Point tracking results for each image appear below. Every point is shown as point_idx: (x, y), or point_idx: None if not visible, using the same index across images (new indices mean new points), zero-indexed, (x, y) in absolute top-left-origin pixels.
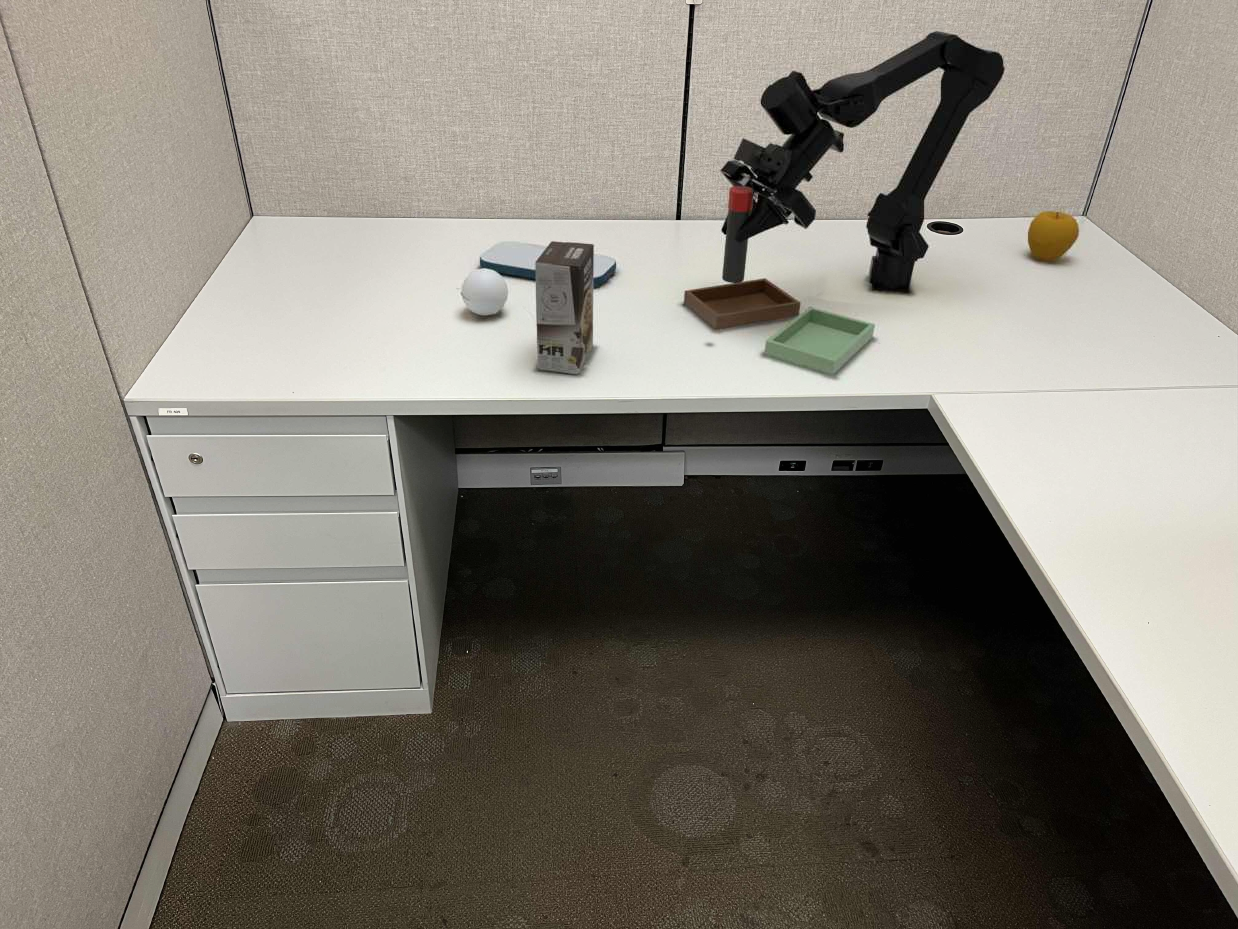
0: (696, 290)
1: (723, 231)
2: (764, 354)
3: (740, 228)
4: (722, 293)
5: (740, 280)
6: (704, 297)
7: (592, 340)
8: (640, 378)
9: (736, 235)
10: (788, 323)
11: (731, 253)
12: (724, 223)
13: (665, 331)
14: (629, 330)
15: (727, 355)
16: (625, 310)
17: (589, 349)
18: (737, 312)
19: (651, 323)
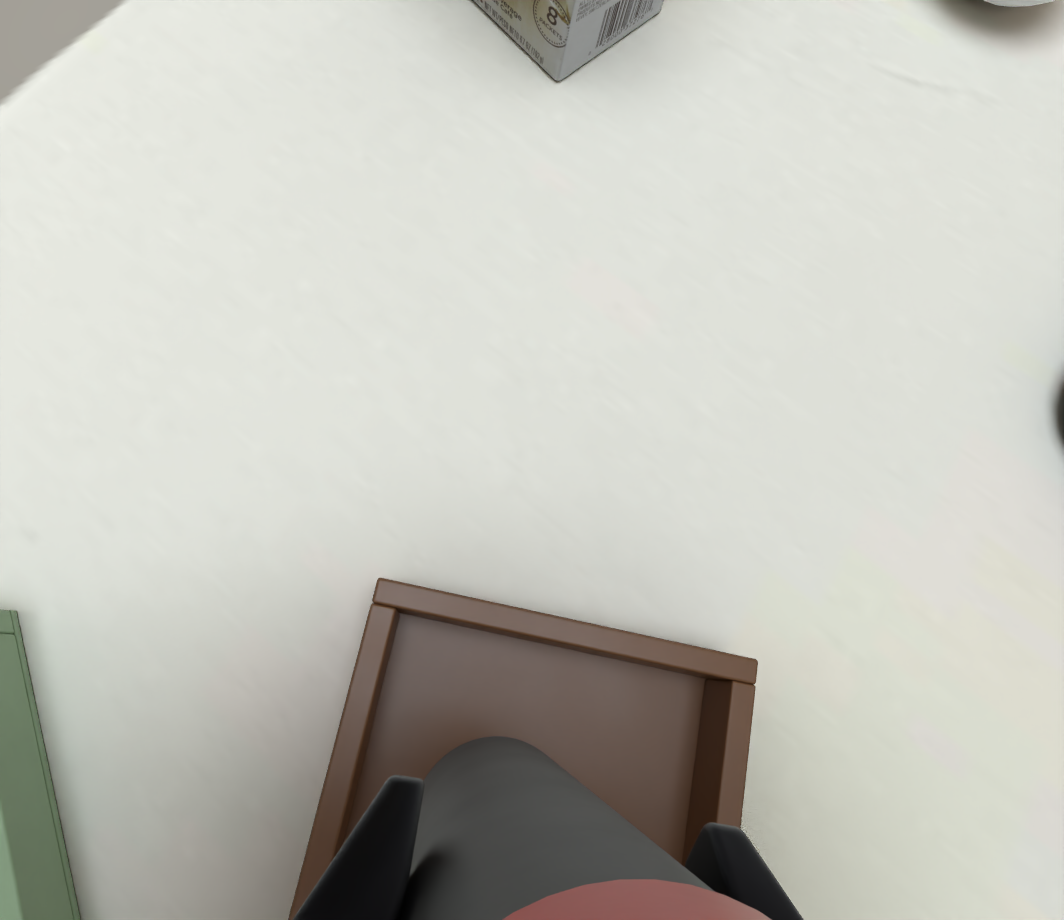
0: (729, 726)
1: (700, 835)
2: (9, 610)
3: (386, 903)
4: None
5: None
6: (701, 778)
7: (551, 44)
8: (244, 65)
9: (395, 803)
10: (18, 915)
11: (470, 779)
12: (783, 910)
13: (523, 393)
14: (614, 278)
15: (152, 463)
16: (795, 385)
17: (513, 21)
18: (349, 727)
19: (624, 394)
